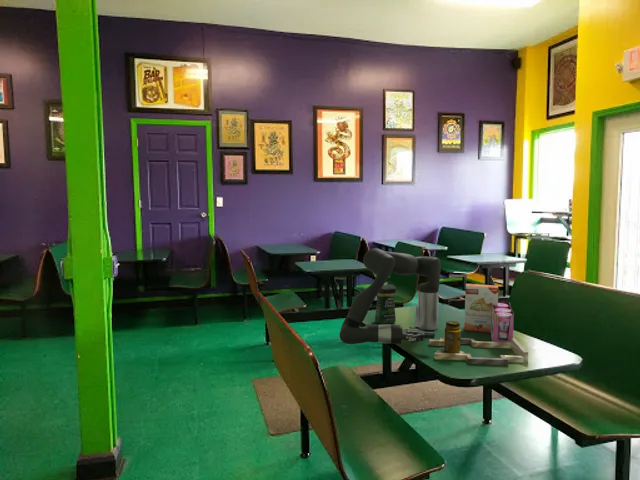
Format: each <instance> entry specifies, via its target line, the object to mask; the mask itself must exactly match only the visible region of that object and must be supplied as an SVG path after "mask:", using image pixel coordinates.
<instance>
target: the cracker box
mask: <svg viewBox="0 0 640 480" xmlns="http://www.w3.org/2000/svg"><path fill="white" fill-rule="evenodd" d="M498 302H499V286H498V285H494V284H493V285H491V284H490V285H489V284H479V283H465V298H464V321H463V322H464V324H463V325H464V327H463V330H464V331H471V332H472V331H473V332H481V333H482V332H483V333H491V308H492V304H493V305H498Z"/></svg>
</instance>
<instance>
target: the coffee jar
mask: <svg viewBox="0 0 640 480" xmlns="http://www.w3.org/2000/svg"><path fill="white" fill-rule="evenodd" d="M396 295H397V287H396V286H395V285H393V284H384V285H383V287H382V288H381V290H380V291H379V293H378V294H377V296H376V306H375V307H376V308H375V315H374V316H375V317H374V321H375V322H376V323H377V324H379V325H382V324H395V322H396V307H395V306H396V305H395V300H396Z"/></svg>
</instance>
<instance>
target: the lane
mask: <svg viewBox="0 0 640 480" xmlns="http://www.w3.org/2000/svg"><path fill="white" fill-rule="evenodd" d="M444 339H445V336H444V337H441V336H440V337H439V339H429V343H428V344H429V346H432V347H434V346H435V347H444ZM460 345H471V347H472V348H486V349H487V348H488V349H489V348H490V349H511V350H512V351H513V352H514V354H515V355H506V354H500V355H499V358H498V357H496V358H495V357H475V356H474V357H473V356H472V355H471V353H462V354H458V353H439V352H434V353H433V354H434V358H433V359H434V360H446V361H447V360H449V361H466V363H467V364H468V365H484V366H485V365H488V366H509V363H523V364H524V363H529V351H528V350H527V349H526V347H524V346H523V345H522V344H521V342H519V341H518V340H517V338H515V337H513V338H510V342H492V341H483V340H482V341H478V340H475V338H472V337H471V338H469V337H468V338H467V337H460Z"/></svg>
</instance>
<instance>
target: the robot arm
mask: <svg viewBox="0 0 640 480" xmlns="http://www.w3.org/2000/svg"><path fill="white" fill-rule="evenodd" d="M362 259H363V262H362V263H363V266H364V267H365V268H366V269H367V270H369V271H370V272H371V273H373V274H375V279H374V280H373V281H372V283H371V284H370V285H369V286H367V287H366V288H364V289H363V290H361V292H358V294H357V295H356V296H355V297H354V299H353V301H352V303H351V306H350V308H349V309H348V314H347V315H346V317H345V319H344V320H343V322H342V324H341V326H340V331H339V339H340V341H341V342H342V343H344V344H347V345H348V344H349V345H357V344H364V343H381V344H388V345H389V344H392V345H394V344H395V345H402V344H403V340H405V341H407V342H408V341H409V342H411V344H413V343H418V342H423V341H424V340H425V339H429V340H435V338H436V337H435V333H434V332H433V331H432V330H437V329H438V328H439V327H438V325H439V322H438V321H439V289H440V285H441V284H440V280H441V267H442V266H441V260H440V258H438V257H433V256H422V255H421V256H414V255H413V254H409V253H403V252H393V251H385V250H383V249H380V248H378V247H375V248H371V249H369V250H367V252H366V253H365V254H364V256H363V258H362ZM392 273H393V274H396V275H399V276H410V275H413V274H414V275H418V276H420V277H427V278H428V281H427V282H422V283H420V284H418V286H417V306H416V307H415V327H417V328H415V327H412V326H409V327H408V328H404V329H403V325H402V324H394V323H390V324H365V325H364V326H362V327H361V325H362V323H363V322H364V321H365V318H366V317H367V315H368V313H369V310H370V308H371V306H372V304H373V302H374V300H375V299H376V298H377V294H378V293H379V291H380V290H381V288H382V287H383V285H385V284H386V282H387V280H388V279H389V278H390V276H391V274H392ZM425 330H426V331H425Z"/></svg>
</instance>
